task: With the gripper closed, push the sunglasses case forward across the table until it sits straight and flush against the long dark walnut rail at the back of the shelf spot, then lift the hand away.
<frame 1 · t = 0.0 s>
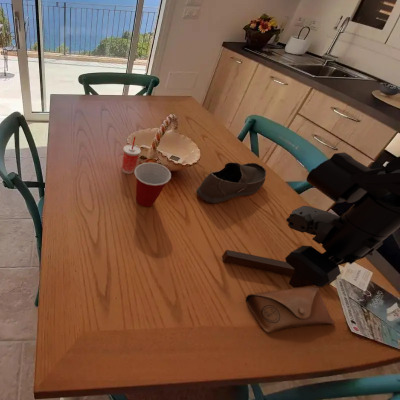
hand: (305, 276, 53), 14 cm above the table, tool pointing down, fingers open, 9 cm apart
loafer: (230, 190, 95), on the table
plastic cup: (144, 201, 88), on the table
beverage cup: (127, 170, 101), on the table
sunglasses case: (287, 311, 63), on the table
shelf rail: (273, 269, 71), on the table
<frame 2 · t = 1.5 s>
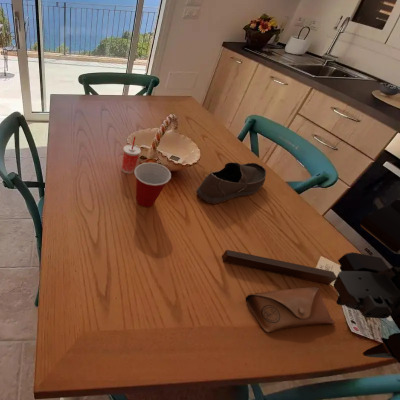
hand: (351, 327, 48), 12 cm above the table, tool pointing down, fingers open, 9 cm apart
nothing on the table moved.
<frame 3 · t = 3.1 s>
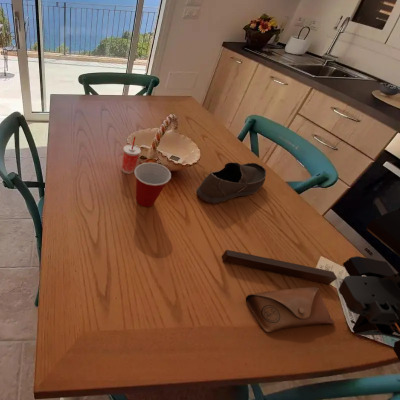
hand: (356, 332, 48), 12 cm above the table, tool pointing down, fingers closed
nothing on the table moved.
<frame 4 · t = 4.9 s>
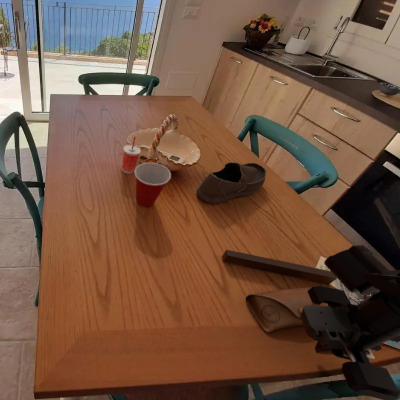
hand: (317, 351, 55), 2 cm above the table, tool pointing down, fingers closed
nothing on the table moved.
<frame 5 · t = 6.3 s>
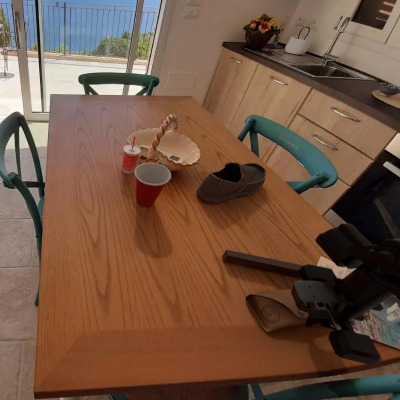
hand: (307, 326, 58), 2 cm above the table, tool pointing down, fingers closed
sunglasses case: (287, 311, 63), on the table, touching gripper
everything else where it was.
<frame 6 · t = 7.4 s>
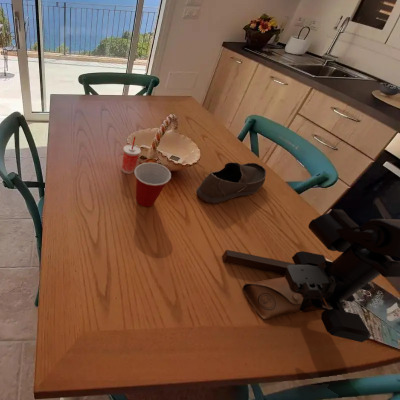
hand: (302, 310, 61), 2 cm above the table, tool pointing down, fingers closed, pressing on sunglasses case
sunglasses case: (282, 298, 65), on the table, touching gripper, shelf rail
everything else where it was.
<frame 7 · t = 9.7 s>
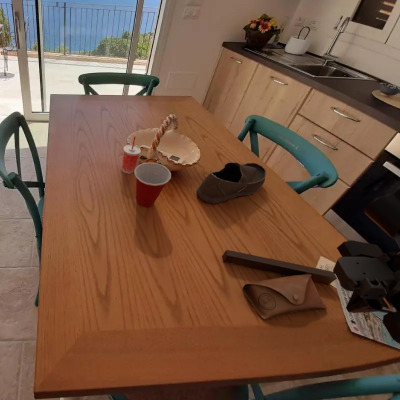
hand: (349, 310, 51), 11 cm above the table, tool pointing down, fingers closed
sunglasses case: (282, 298, 65), on the table, touching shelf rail
everything else where it was.
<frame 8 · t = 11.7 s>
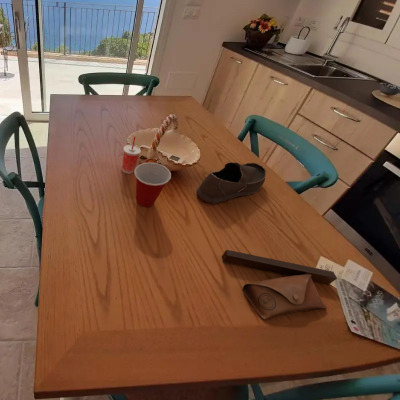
nothing on the table moved.
at the end: sunglasses case touching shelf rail, table; sunglasses case moved 3.2 cm from its start; the gripper is holding nothing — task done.
